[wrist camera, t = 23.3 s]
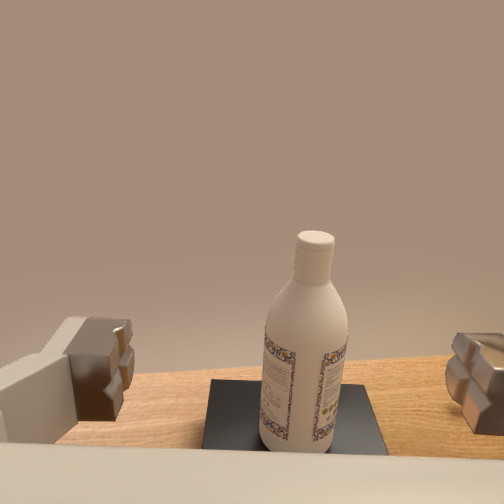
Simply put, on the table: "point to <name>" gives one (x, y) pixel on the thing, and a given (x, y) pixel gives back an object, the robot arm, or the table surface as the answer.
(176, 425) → the table surface
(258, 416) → the platform
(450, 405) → the table surface
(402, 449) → the table surface
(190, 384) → the table surface
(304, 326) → the bath foam
